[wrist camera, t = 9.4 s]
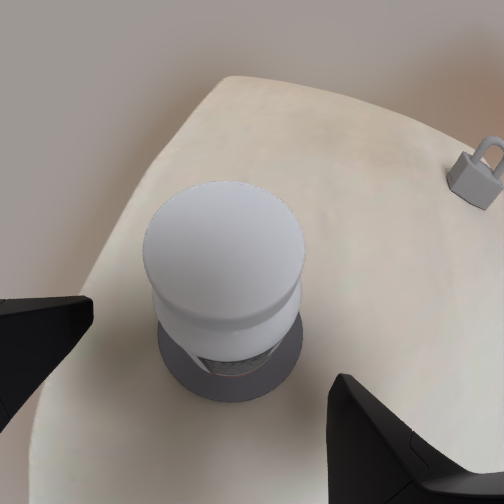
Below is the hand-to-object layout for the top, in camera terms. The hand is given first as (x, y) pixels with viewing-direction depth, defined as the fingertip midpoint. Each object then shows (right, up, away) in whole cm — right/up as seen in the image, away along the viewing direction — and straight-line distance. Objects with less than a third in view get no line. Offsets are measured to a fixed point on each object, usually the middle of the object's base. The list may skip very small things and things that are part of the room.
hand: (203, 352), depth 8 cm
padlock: (+30, +11, +19) cm, 37 cm away
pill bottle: (0, -2, +8) cm, 8 cm away
